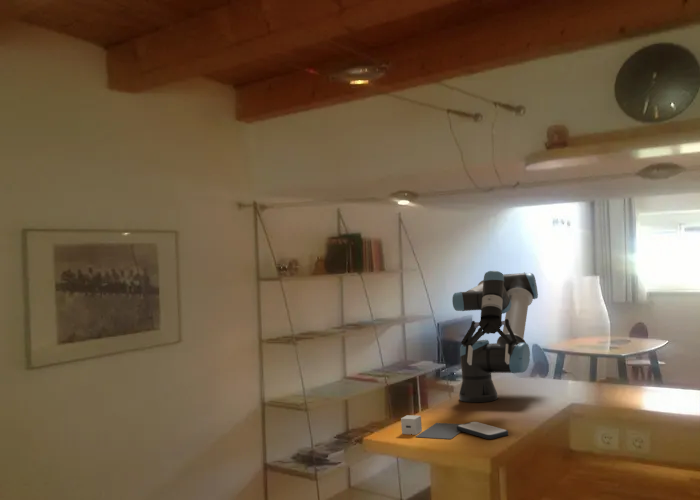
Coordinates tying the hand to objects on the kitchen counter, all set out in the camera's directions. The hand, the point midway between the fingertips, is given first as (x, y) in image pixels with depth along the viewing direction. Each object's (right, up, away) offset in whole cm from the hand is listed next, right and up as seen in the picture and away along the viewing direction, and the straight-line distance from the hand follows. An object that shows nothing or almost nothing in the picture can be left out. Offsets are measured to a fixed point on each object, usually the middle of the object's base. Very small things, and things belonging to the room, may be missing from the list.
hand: (487, 363), depth 224 cm
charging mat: (-18, -20, -15) cm, 30 cm away
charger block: (-28, -20, -14) cm, 37 cm away
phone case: (-6, -19, -21) cm, 29 cm away
